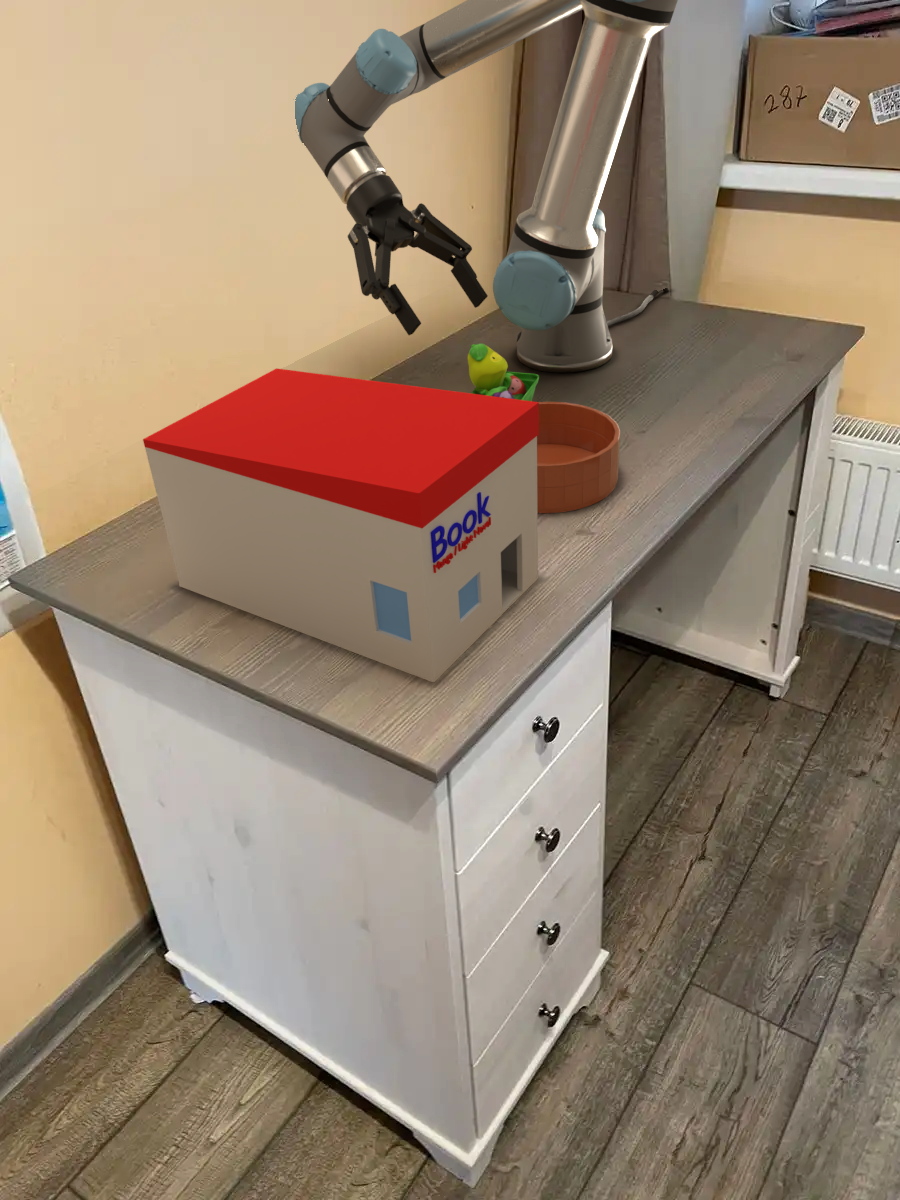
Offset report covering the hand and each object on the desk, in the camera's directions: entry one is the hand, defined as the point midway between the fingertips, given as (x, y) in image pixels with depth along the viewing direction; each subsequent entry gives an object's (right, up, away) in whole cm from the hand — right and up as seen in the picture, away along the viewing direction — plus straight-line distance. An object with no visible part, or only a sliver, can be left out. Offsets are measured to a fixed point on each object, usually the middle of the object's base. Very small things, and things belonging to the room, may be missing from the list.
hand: (449, 315), depth 144 cm
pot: (+12, -24, -12) cm, 30 cm away
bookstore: (-10, -38, -30) cm, 50 cm away
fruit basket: (+7, -14, +3) cm, 16 cm away
